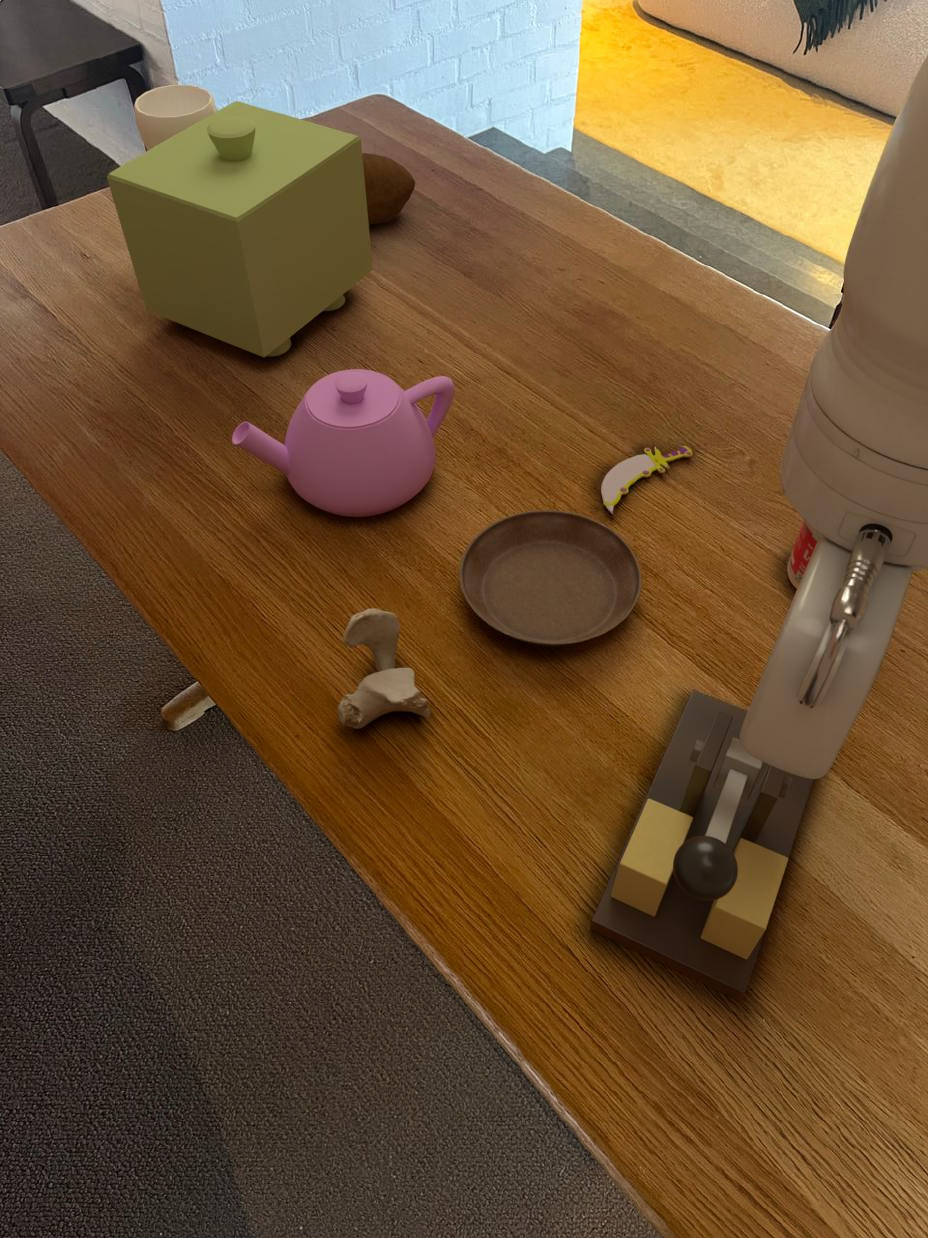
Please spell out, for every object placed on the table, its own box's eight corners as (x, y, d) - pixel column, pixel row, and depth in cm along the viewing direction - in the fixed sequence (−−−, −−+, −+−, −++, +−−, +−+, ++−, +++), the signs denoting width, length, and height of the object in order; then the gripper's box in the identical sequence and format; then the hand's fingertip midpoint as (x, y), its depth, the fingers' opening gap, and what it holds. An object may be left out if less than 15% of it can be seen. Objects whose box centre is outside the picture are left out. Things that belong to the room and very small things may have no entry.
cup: (181, 218, 119) (147, 80, 107) (252, 222, 118) (226, 84, 106) (157, 256, 114) (118, 116, 101) (230, 262, 113) (200, 120, 100)
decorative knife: (577, 486, 88) (612, 516, 85) (577, 482, 88) (613, 512, 85) (670, 437, 92) (707, 464, 89) (671, 433, 92) (708, 460, 89)
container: (268, 377, 99) (230, 187, 83) (151, 329, 104) (95, 143, 89) (374, 289, 109) (358, 104, 93) (263, 249, 114) (230, 69, 99)
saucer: (462, 528, 85) (462, 506, 83) (630, 531, 84) (634, 509, 82) (456, 662, 75) (456, 641, 73) (644, 666, 75) (649, 645, 73)
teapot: (234, 453, 91) (210, 359, 83) (433, 409, 95) (429, 315, 87) (262, 553, 83) (238, 460, 75) (479, 500, 87) (480, 406, 79)
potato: (309, 213, 120) (300, 151, 114) (401, 193, 123) (398, 131, 117) (330, 245, 115) (322, 181, 109) (425, 223, 118) (423, 160, 112)
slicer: (739, 1001, 59) (783, 936, 51) (589, 929, 62) (607, 856, 54) (820, 751, 70) (867, 663, 62) (689, 700, 73) (717, 610, 65)
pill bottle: (779, 593, 80) (816, 496, 71) (792, 543, 83) (828, 445, 75) (856, 614, 78) (903, 517, 70) (865, 562, 82) (911, 464, 73)
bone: (414, 767, 68) (341, 664, 63) (349, 765, 72) (276, 668, 67) (465, 682, 73) (402, 581, 68) (402, 685, 77) (338, 590, 72)
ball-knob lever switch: (720, 923, 47) (741, 873, 46) (658, 896, 48) (678, 845, 47) (759, 790, 60) (777, 747, 59) (710, 770, 61) (727, 727, 60)
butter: (769, 891, 62) (789, 857, 58) (746, 960, 59) (765, 929, 55) (637, 833, 64) (648, 797, 61) (610, 897, 62) (619, 863, 58)
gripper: (936, 680, 30) (816, 869, 41) (1032, 339, 41) (918, 557, 52) (742, 608, 32) (676, 807, 43) (884, 302, 43) (804, 519, 54)
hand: (810, 667), depth 48 cm, fingers open, 8 cm apart
